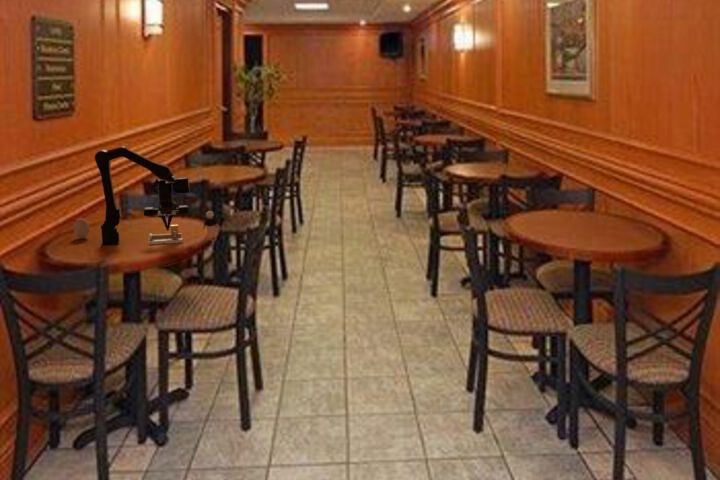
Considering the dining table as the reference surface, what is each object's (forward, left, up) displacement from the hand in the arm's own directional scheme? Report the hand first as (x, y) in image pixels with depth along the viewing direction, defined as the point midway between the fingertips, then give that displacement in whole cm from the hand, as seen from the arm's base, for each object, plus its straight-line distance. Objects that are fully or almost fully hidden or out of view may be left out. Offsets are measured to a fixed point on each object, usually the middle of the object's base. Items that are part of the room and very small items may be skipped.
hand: (167, 230), depth 331 cm
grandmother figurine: (+18, -4, -5) cm, 19 cm away
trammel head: (+3, -2, -3) cm, 4 cm away
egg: (-37, +15, -5) cm, 40 cm away
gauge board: (-1, -1, -5) cm, 5 cm away
